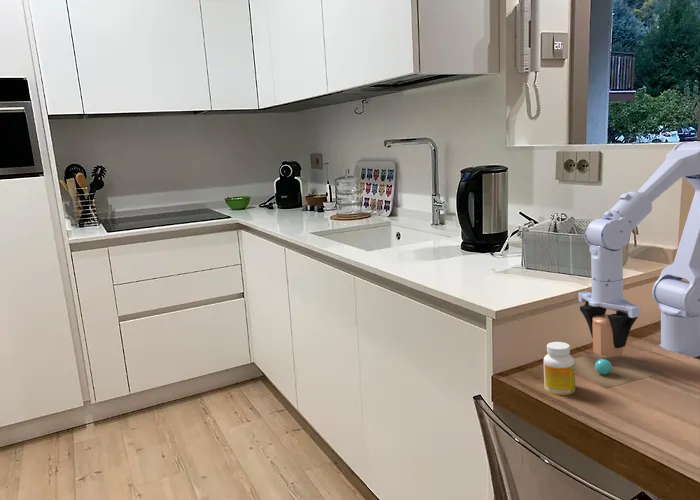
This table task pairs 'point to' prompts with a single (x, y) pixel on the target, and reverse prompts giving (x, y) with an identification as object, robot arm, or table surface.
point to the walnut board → (613, 370)
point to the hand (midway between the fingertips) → (608, 342)
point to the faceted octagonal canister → (604, 337)
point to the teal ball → (603, 366)
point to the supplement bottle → (559, 369)
